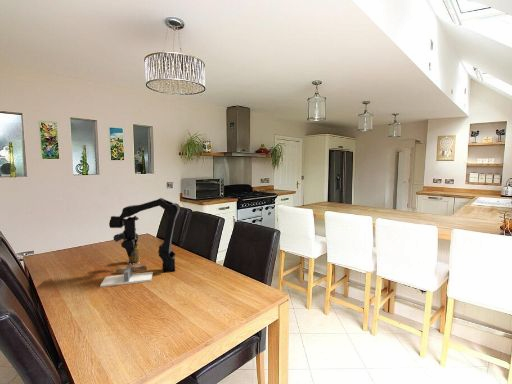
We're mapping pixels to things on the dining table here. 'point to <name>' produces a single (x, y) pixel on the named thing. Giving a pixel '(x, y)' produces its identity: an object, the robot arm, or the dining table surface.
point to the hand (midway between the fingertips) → (131, 254)
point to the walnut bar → (132, 268)
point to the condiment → (134, 256)
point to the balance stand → (127, 278)
